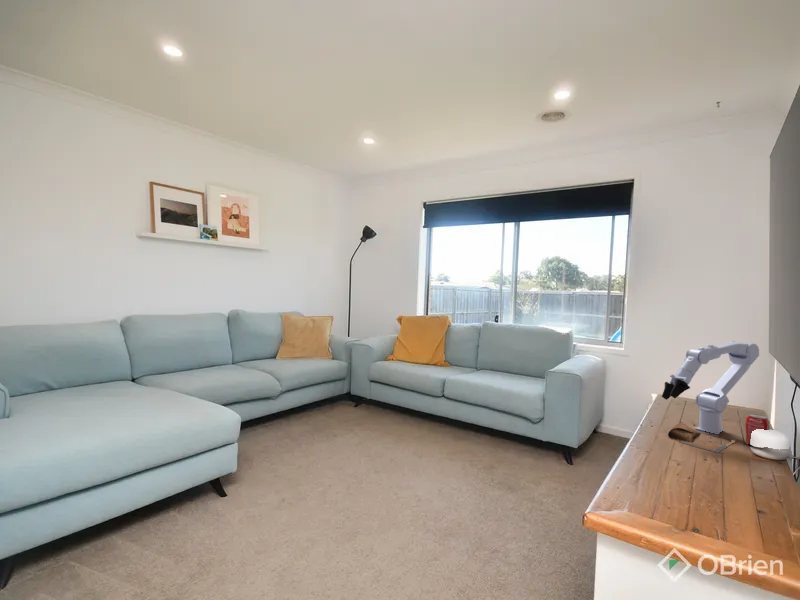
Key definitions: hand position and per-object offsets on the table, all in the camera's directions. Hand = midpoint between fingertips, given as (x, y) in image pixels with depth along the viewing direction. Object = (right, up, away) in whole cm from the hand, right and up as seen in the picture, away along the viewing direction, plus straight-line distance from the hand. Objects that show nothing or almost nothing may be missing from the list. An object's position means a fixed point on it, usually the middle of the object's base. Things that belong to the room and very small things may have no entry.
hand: (668, 397), depth 170 cm
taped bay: (+10, -16, -8) cm, 20 cm away
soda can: (+27, -17, -12) cm, 34 cm away
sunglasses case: (+5, -16, -2) cm, 17 cm away
